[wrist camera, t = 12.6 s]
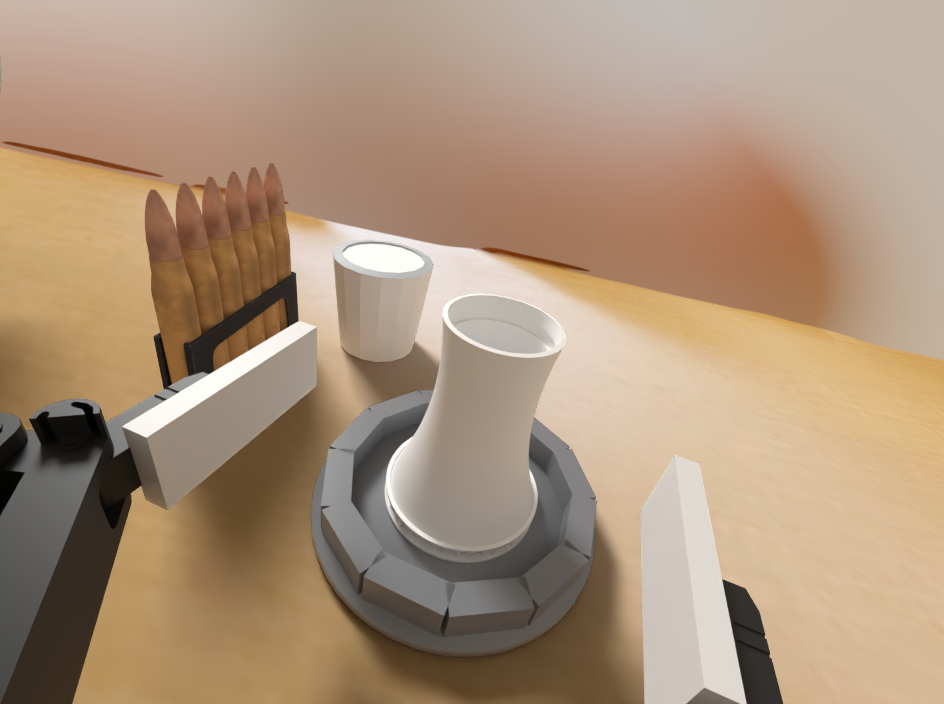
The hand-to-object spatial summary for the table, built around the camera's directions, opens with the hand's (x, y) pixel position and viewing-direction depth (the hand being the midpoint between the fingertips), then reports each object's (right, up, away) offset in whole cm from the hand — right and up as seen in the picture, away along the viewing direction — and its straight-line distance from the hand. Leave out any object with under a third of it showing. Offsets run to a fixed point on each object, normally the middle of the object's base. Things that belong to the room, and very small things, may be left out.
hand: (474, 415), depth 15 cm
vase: (-1, -5, +7) cm, 8 cm away
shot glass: (-7, +3, +18) cm, 20 cm away
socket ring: (-1, -5, +7) cm, 9 cm away
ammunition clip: (-15, +1, +12) cm, 19 cm away
